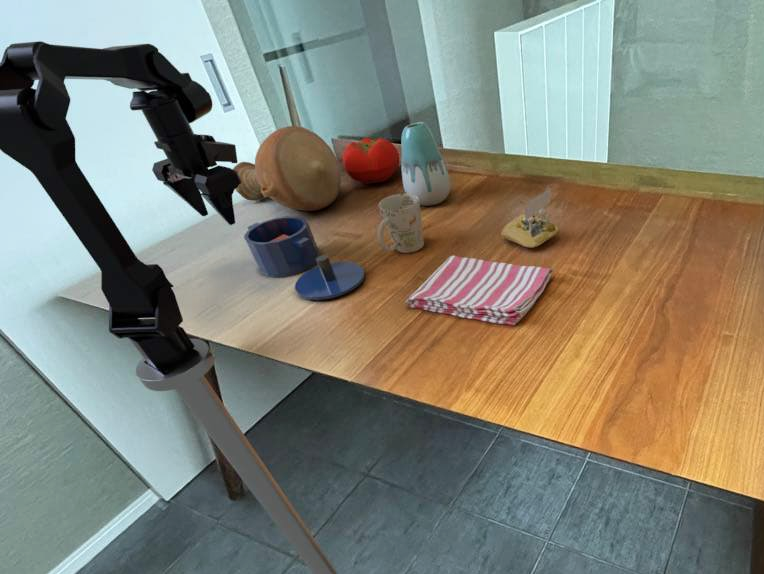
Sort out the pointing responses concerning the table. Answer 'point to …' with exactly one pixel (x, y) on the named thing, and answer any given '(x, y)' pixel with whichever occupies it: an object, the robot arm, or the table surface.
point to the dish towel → (481, 290)
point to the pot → (282, 246)
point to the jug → (292, 171)
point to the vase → (423, 166)
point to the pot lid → (329, 279)
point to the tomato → (371, 160)
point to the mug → (401, 223)
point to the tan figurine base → (531, 224)
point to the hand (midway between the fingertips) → (218, 219)
